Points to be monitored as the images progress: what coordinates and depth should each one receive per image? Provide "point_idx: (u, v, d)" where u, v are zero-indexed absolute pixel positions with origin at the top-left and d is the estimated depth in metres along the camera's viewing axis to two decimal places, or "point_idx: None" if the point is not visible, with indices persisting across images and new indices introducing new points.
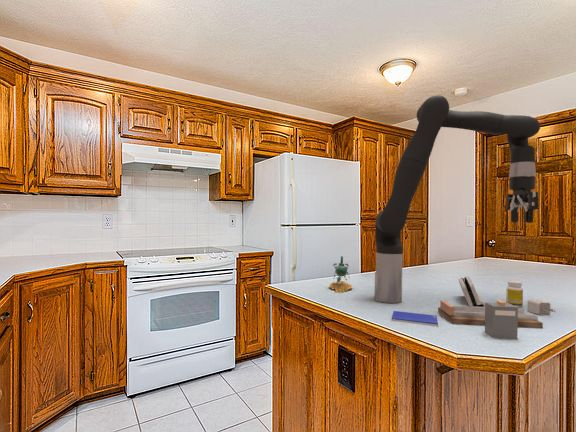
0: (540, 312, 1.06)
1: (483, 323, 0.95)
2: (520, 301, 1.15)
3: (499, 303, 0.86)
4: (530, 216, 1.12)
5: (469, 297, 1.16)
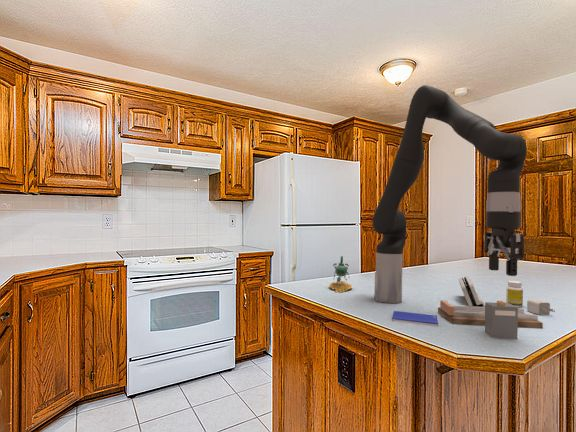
0: (540, 311, 1.06)
1: (483, 323, 0.95)
2: (520, 301, 1.15)
3: (499, 303, 0.86)
4: (513, 267, 0.81)
5: (469, 297, 1.16)
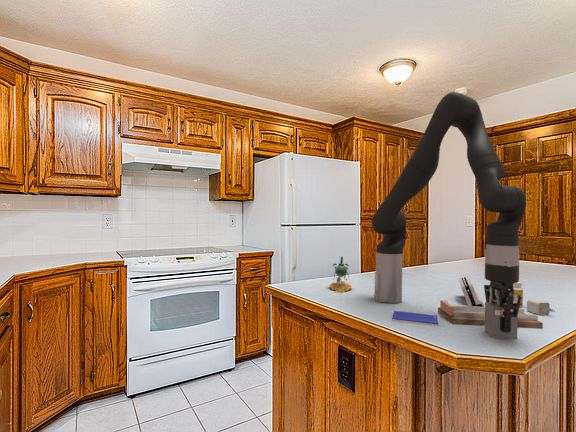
0: (539, 311, 1.06)
1: (483, 323, 0.95)
2: None
3: None
4: (507, 324, 0.83)
5: (468, 297, 1.16)
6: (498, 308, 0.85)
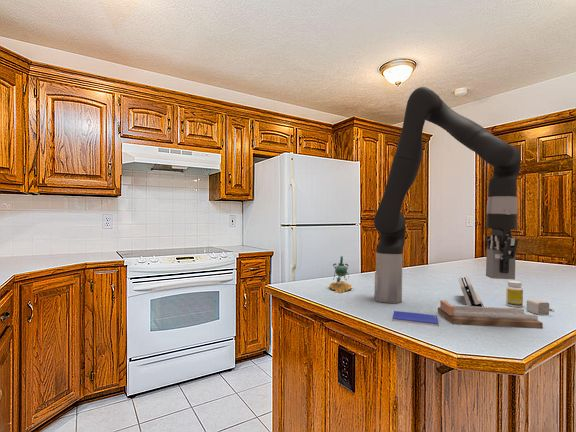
0: (539, 311, 1.06)
1: (483, 323, 0.95)
2: (520, 301, 1.15)
3: None
4: (505, 266, 0.94)
5: (467, 296, 1.17)
6: (498, 252, 0.95)
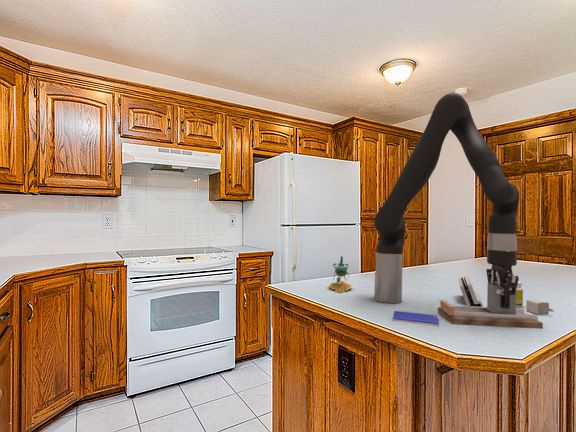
0: (539, 311, 1.06)
1: (483, 323, 0.95)
2: (520, 301, 1.15)
3: None
4: (506, 301, 0.97)
5: (466, 296, 1.17)
6: (499, 288, 0.98)
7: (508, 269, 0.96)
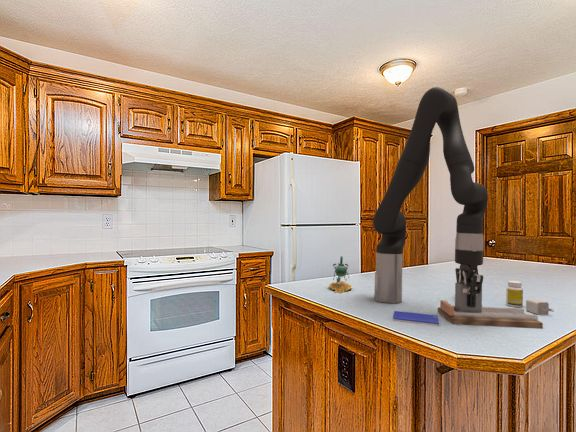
0: (538, 311, 1.06)
1: (483, 323, 0.95)
2: (520, 301, 1.15)
3: None
4: (472, 300, 0.98)
5: None
6: (465, 287, 0.99)
7: (474, 268, 0.97)
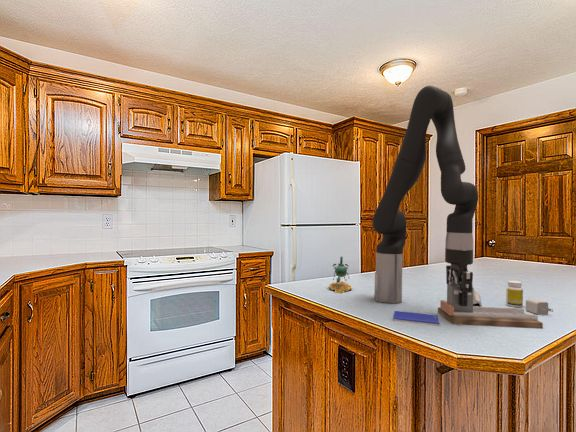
0: (538, 311, 1.06)
1: (483, 323, 0.95)
2: (520, 301, 1.15)
3: None
4: (464, 299, 0.97)
5: None
6: (456, 288, 0.99)
7: (463, 268, 0.97)
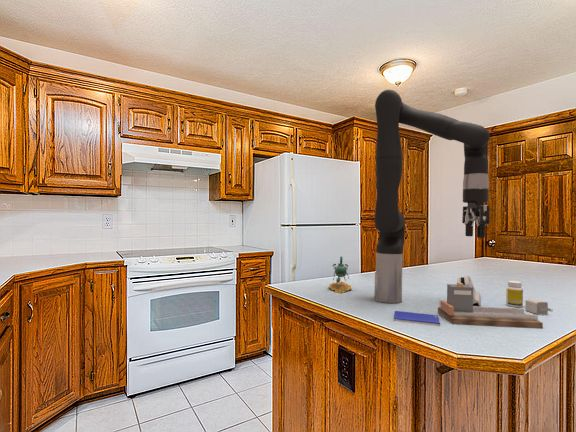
0: (538, 311, 1.07)
1: (483, 323, 0.95)
2: (520, 301, 1.15)
3: (458, 284, 1.01)
4: (482, 231, 1.06)
5: None
6: (456, 288, 0.99)
7: (480, 204, 1.07)
